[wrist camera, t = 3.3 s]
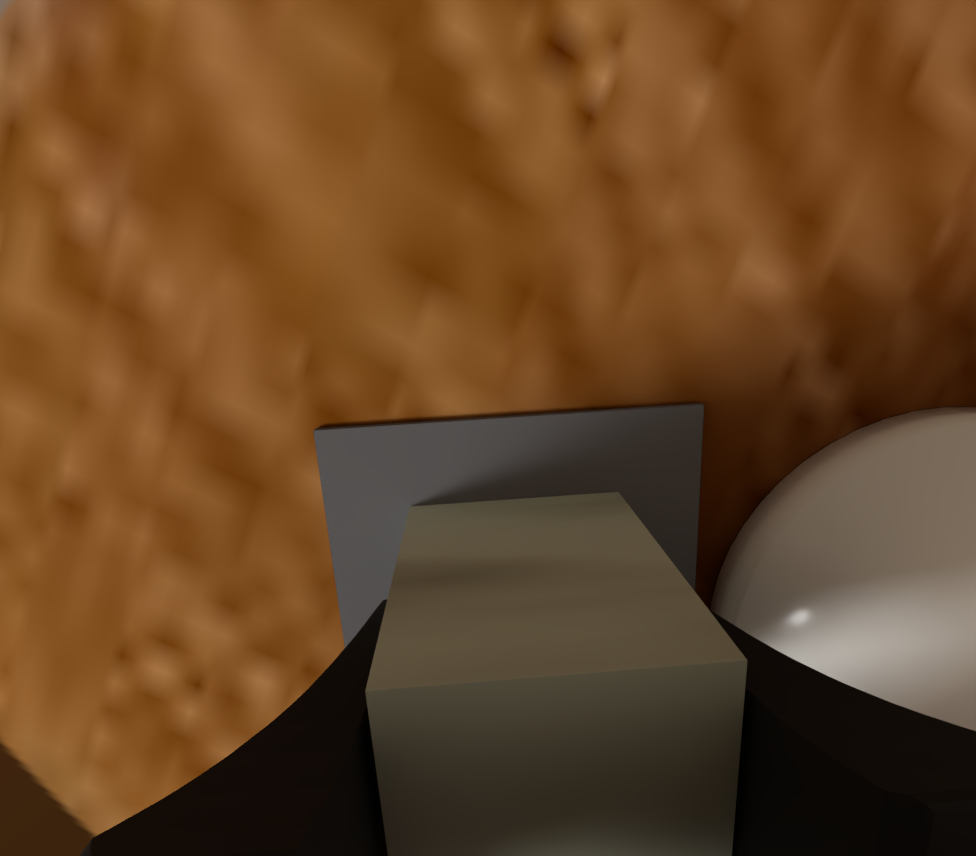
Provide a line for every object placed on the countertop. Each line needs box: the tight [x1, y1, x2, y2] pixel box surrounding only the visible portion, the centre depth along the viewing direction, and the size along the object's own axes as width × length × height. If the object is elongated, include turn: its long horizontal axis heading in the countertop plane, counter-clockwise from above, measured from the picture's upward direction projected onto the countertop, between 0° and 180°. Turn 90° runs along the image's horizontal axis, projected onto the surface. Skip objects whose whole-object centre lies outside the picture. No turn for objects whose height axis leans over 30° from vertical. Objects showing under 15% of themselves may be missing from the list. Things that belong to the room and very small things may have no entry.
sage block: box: [365, 492, 747, 856], centre depth 10 cm, size 5×5×6 cm
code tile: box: [314, 403, 704, 647], centre depth 13 cm, size 9×9×1 cm
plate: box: [710, 407, 976, 731], centre depth 14 cm, size 11×11×1 cm
